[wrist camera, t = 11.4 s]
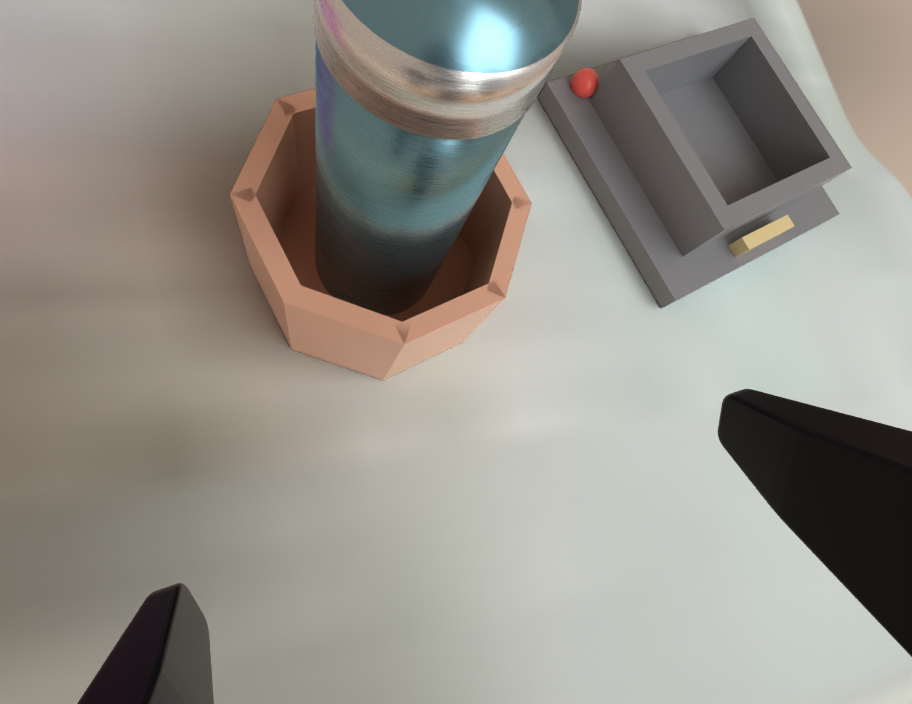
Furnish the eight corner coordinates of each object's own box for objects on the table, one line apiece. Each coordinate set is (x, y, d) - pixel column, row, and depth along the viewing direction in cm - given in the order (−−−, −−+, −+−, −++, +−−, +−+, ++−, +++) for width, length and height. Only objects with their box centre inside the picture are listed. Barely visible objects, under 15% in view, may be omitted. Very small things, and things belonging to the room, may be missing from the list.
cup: (513, 317, 22) (568, 268, 17) (321, 409, 19) (323, 381, 14) (418, 145, 22) (446, 53, 18) (222, 209, 20) (193, 120, 15)
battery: (458, 253, 21) (650, -71, 9) (389, 341, 19) (512, 91, 7) (363, 182, 21) (431, -248, 9) (287, 266, 19) (241, -119, 7)
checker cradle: (821, 223, 27) (891, 185, 24) (661, 308, 23) (717, 278, 20) (707, 44, 28) (758, -16, 25) (538, 98, 25) (572, 37, 21)
